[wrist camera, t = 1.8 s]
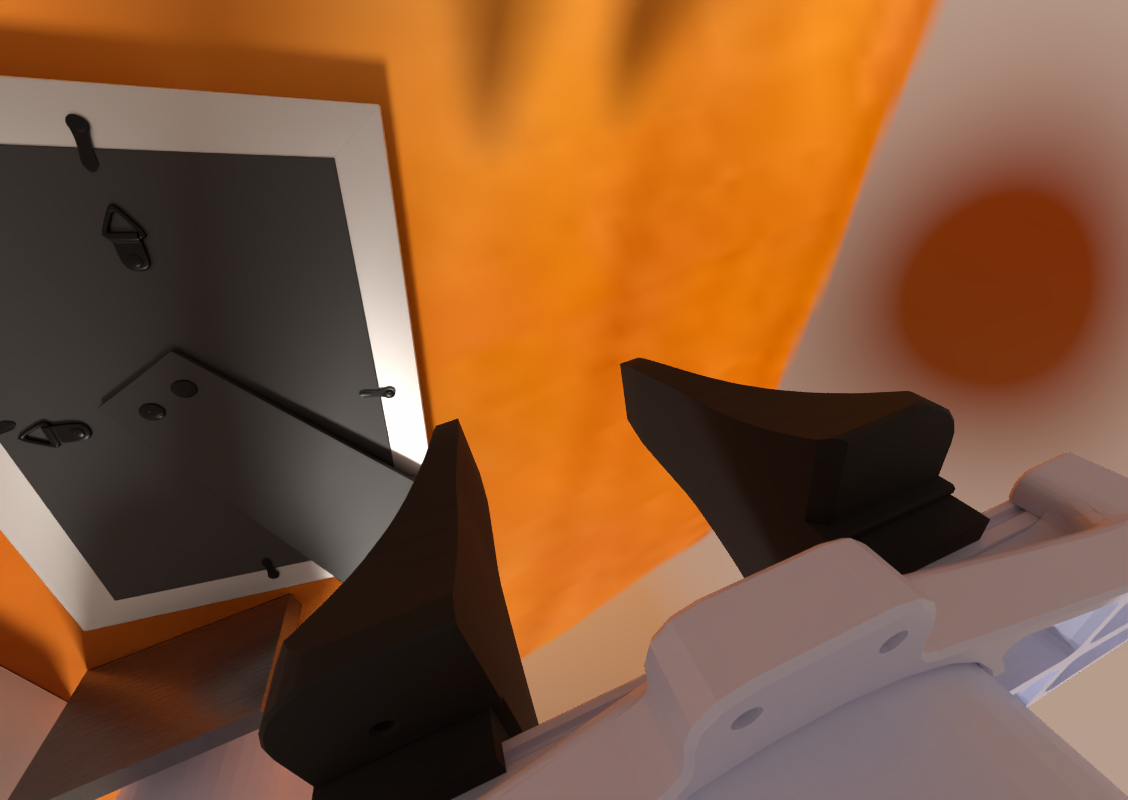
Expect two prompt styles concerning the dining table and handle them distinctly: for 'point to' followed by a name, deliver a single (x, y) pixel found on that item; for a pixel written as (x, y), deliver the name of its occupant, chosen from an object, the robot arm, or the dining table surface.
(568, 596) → the dining table surface
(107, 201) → the picture frame
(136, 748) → the bookend
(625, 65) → the dining table surface
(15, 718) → the shelf wall
